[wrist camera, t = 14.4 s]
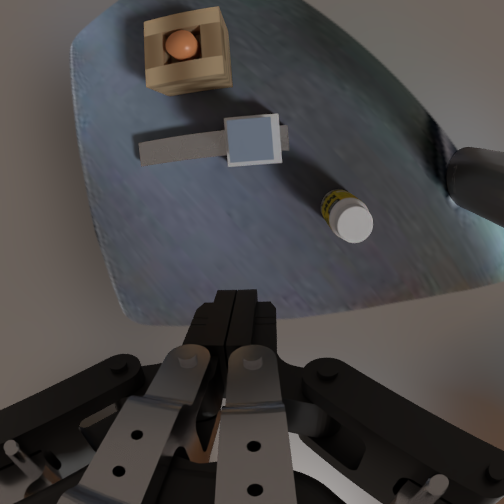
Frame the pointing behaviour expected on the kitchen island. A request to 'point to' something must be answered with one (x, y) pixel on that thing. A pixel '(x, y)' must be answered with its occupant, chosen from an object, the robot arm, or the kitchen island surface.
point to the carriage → (253, 140)
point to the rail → (192, 147)
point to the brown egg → (183, 46)
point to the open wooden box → (193, 71)
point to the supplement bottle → (346, 216)
